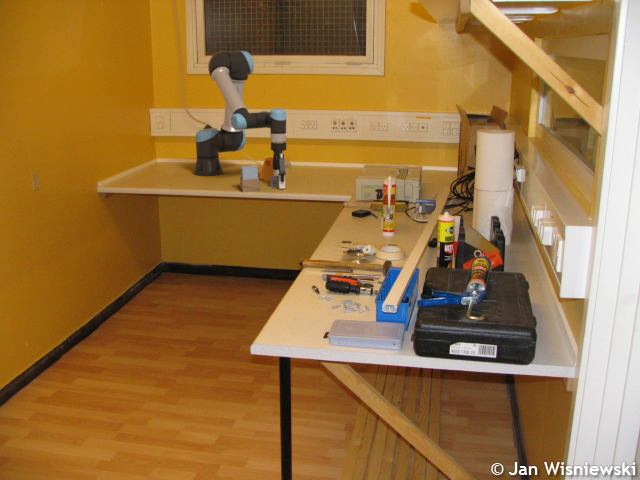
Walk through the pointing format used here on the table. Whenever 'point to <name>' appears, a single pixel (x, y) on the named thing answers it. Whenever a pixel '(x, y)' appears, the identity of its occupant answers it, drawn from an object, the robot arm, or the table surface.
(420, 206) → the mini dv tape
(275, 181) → the dice cube
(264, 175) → the bracket
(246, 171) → the tower top
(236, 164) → the table surface
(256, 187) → the tower bottom
